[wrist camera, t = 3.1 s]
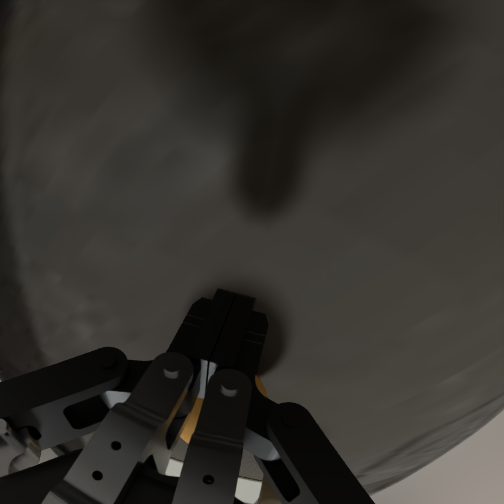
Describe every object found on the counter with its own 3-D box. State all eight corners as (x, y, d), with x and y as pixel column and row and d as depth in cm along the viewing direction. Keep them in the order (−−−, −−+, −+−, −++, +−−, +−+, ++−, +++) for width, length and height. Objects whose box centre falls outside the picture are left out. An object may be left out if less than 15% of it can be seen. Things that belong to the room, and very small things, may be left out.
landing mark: (160, 454, 33) (159, 455, 32) (269, 482, 31) (269, 484, 31) (169, 481, 40) (168, 482, 40) (253, 502, 39) (253, 503, 39)
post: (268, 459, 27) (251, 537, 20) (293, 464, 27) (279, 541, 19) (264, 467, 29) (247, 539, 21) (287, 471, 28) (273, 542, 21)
